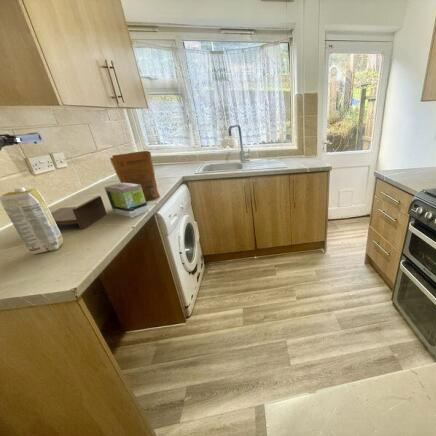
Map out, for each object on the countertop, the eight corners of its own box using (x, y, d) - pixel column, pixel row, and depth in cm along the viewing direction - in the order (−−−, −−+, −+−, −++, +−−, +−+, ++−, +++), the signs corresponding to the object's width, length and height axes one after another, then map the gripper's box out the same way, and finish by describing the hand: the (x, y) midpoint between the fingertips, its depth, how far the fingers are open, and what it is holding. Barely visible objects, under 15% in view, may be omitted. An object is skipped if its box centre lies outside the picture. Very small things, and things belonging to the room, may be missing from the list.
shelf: (35, 233, 107) (24, 212, 103) (65, 217, 123) (57, 198, 119) (84, 229, 109) (75, 209, 105) (107, 214, 125) (100, 195, 121)
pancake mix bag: (163, 199, 144) (149, 151, 133) (126, 205, 137) (108, 155, 125) (163, 196, 150) (150, 149, 138) (127, 202, 143) (110, 153, 131)
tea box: (149, 211, 127) (141, 183, 121) (130, 218, 119) (120, 189, 113) (132, 207, 134) (123, 181, 128) (113, 214, 126) (102, 186, 120)
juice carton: (67, 240, 99) (39, 183, 89) (60, 249, 93) (28, 189, 83) (37, 246, 96) (4, 188, 86) (28, 256, 89) (-9, 194, 79)
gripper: (-81, 161, 66) (-32, 151, 83) (40, 152, 76) (61, 145, 93) (-100, 131, 63) (-44, 128, 80) (29, 127, 73) (53, 124, 90)
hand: (13, 137), depth 87 cm, fingers open, 13 cm apart
